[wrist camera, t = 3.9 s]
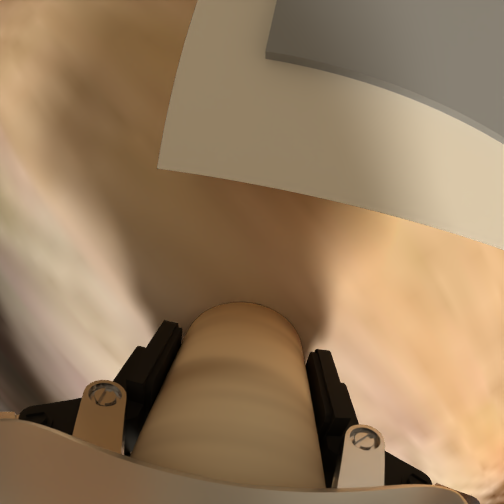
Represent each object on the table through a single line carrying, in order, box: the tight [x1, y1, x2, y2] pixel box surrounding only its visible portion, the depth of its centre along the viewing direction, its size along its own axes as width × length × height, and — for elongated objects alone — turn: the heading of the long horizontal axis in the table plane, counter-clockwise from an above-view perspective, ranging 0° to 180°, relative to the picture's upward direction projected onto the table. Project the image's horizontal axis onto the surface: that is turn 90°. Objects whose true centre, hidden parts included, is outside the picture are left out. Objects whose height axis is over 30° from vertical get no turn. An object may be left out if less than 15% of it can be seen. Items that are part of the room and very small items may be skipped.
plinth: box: [157, 0, 504, 250], centre depth 6 cm, size 16×14×4 cm
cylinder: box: [130, 302, 326, 488], centre depth 8 cm, size 5×5×8 cm
